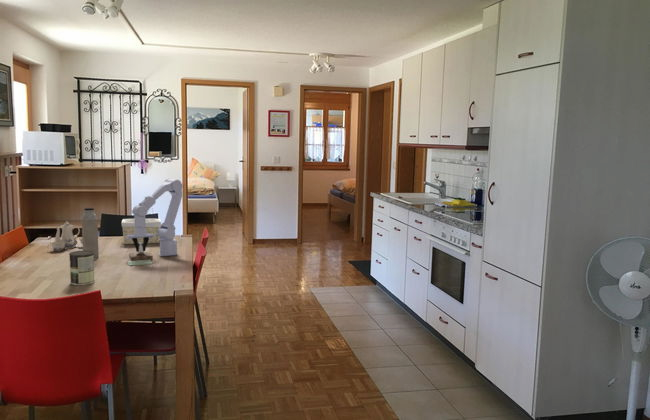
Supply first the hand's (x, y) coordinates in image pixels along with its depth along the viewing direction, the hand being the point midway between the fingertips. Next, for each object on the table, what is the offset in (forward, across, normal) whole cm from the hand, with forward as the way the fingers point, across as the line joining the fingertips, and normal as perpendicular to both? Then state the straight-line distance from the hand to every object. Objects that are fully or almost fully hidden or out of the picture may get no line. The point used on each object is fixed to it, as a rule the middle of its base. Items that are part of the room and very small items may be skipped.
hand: (140, 251), depth 296 cm
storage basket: (+5, -7, -51) cm, 51 cm away
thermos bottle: (+5, +25, -12) cm, 28 cm away
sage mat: (+4, +2, +10) cm, 12 cm away
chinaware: (+5, +35, -46) cm, 58 cm away
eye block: (+4, 0, 0) cm, 4 cm away
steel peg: (+4, 0, 0) cm, 4 cm away
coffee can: (+5, +31, +42) cm, 52 cm away
